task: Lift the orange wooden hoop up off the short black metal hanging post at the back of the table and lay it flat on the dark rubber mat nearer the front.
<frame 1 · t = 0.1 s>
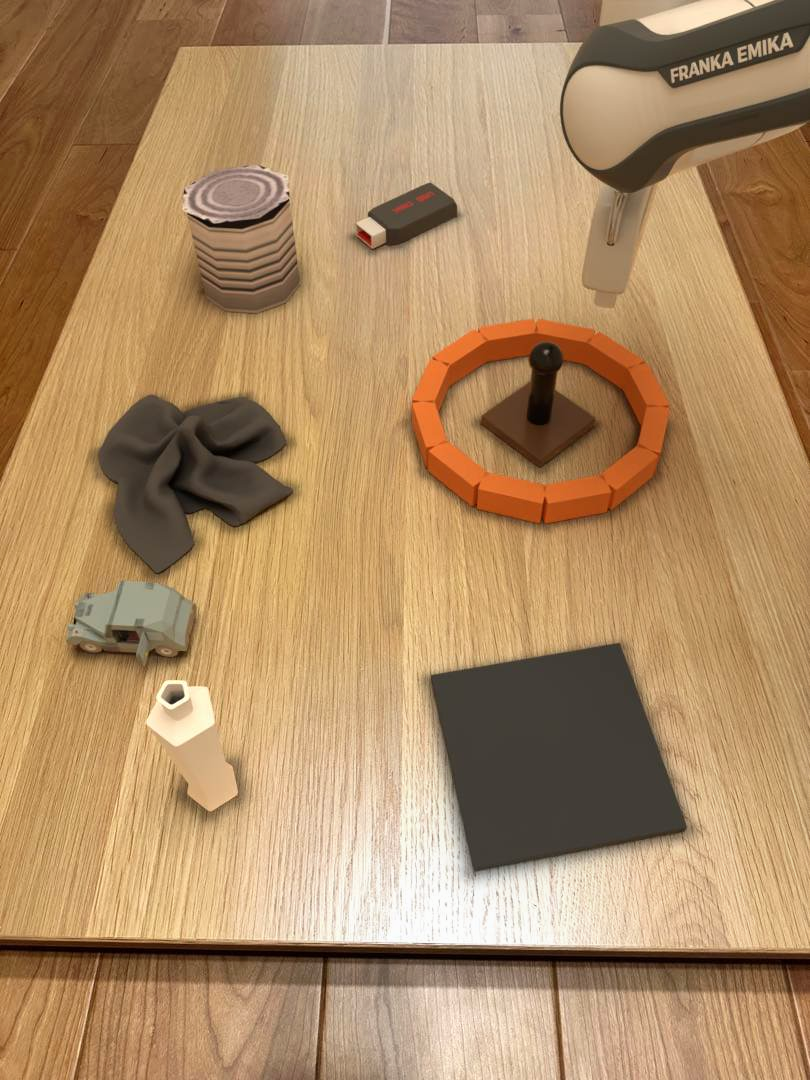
hand: (615, 269, 87), 16 cm above the table, tool pointing down, fingers open, 8 cm apart
hoop: (537, 425, 97), on the table
cloth: (194, 477, 94), on the table
mat: (551, 751, 76), on the table
cream vase: (216, 787, 75), on the table
usb drive: (404, 226, 118), on the table
toy car: (134, 646, 83), on the table
hanging post: (537, 425, 97), on the table
can: (252, 283, 112), on the table
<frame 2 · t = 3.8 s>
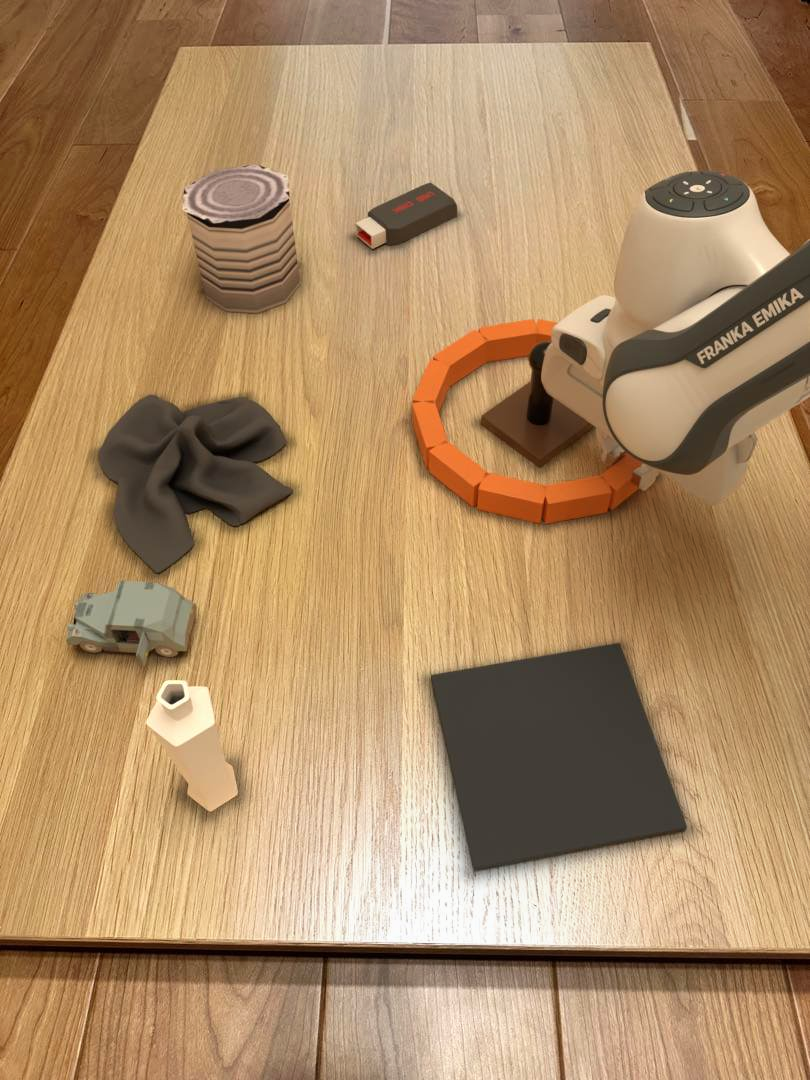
hand: (626, 472, 91), 2 cm above the table, tool pointing down, fingers closed on hoop, 2 cm apart
hoop: (537, 425, 97), on the table, touching gripper
everything else where it was.
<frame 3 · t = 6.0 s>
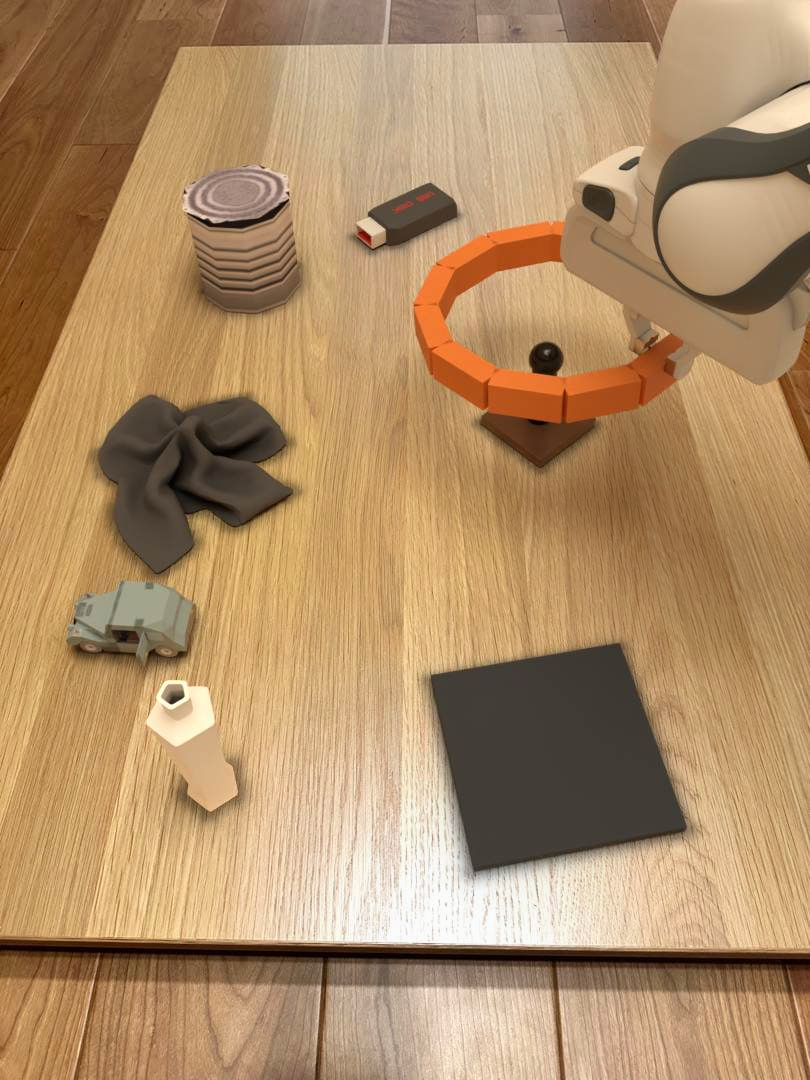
hand: (658, 361, 79), 16 cm above the table, tool pointing down, fingers closed on hoop, 2 cm apart
hoop: (556, 328, 86), point 13 cm above the table, tilted 5°, touching gripper
everything else where it was.
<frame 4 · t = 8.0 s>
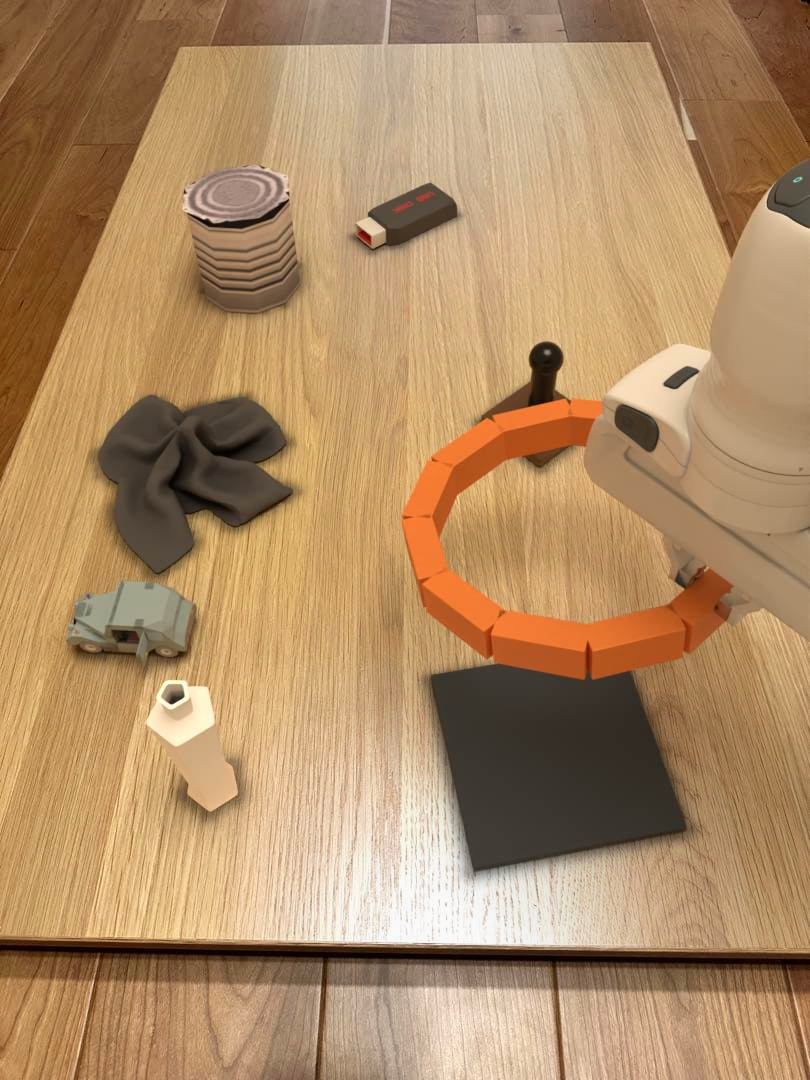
hand: (707, 596, 63), 19 cm above the table, tool pointing down, fingers closed on hoop, 2 cm apart
hoop: (577, 538, 71), point 15 cm above the table, tilted 10°, touching gripper
everything else where it was.
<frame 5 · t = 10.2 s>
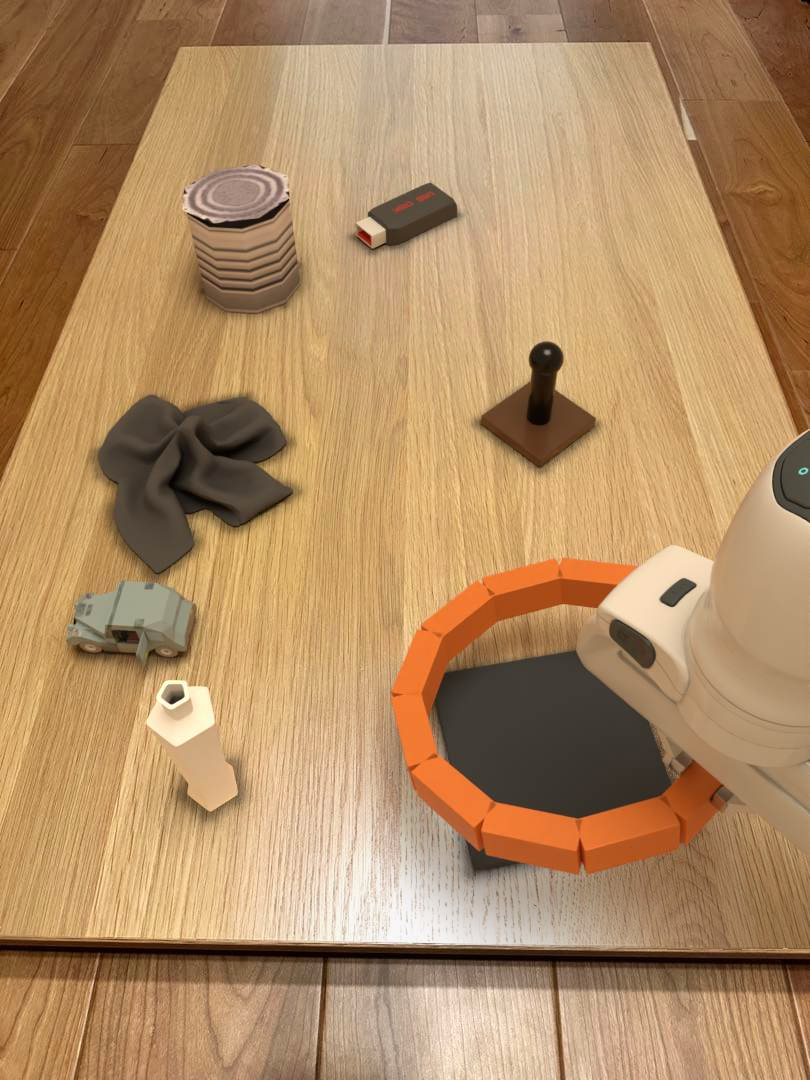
hand: (701, 782, 61), 13 cm above the table, tool pointing down, fingers closed on hoop, 2 cm apart
hoop: (570, 711, 69), point 8 cm above the table, tilted 13°, touching gripper
everything else where it was.
when the fingers open (4 cm above the table, at t = 12.2 s): hoop stays where it is, resting on mat.
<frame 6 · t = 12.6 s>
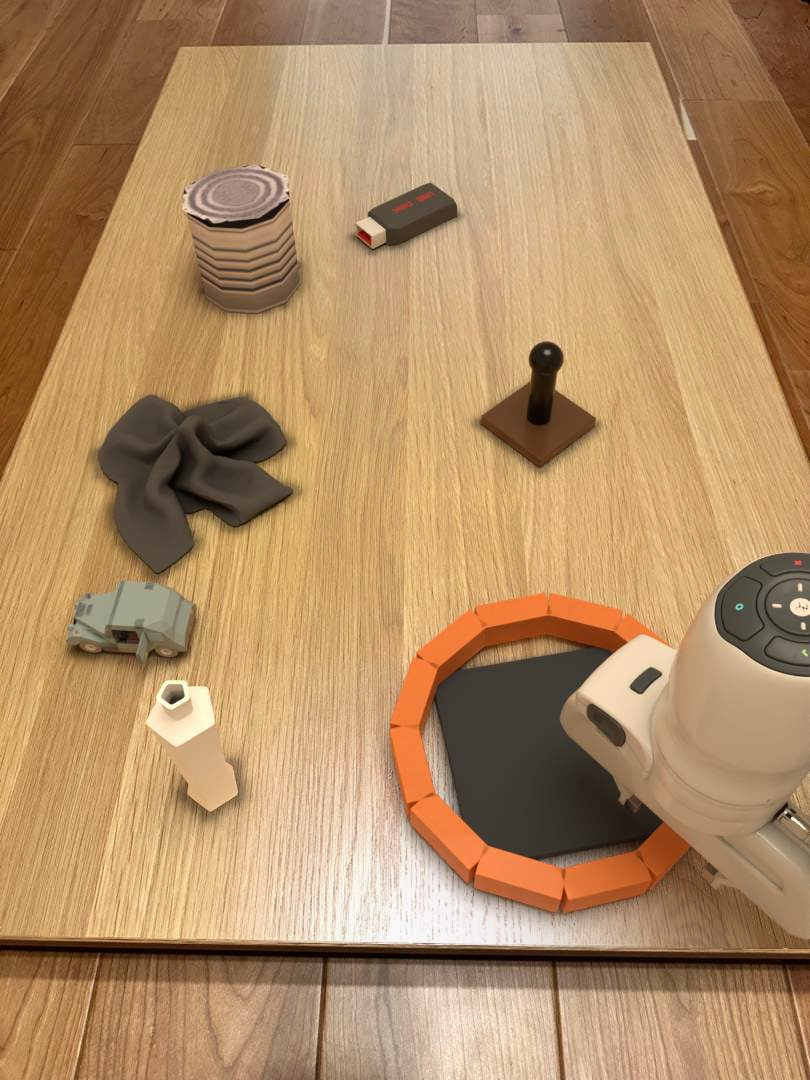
hand: (672, 837, 69), 3 cm above the table, tool pointing down, fingers open, 6 cm apart
hoop: (551, 747, 76), point 1 cm above the table, touching mat
everything else where it was.
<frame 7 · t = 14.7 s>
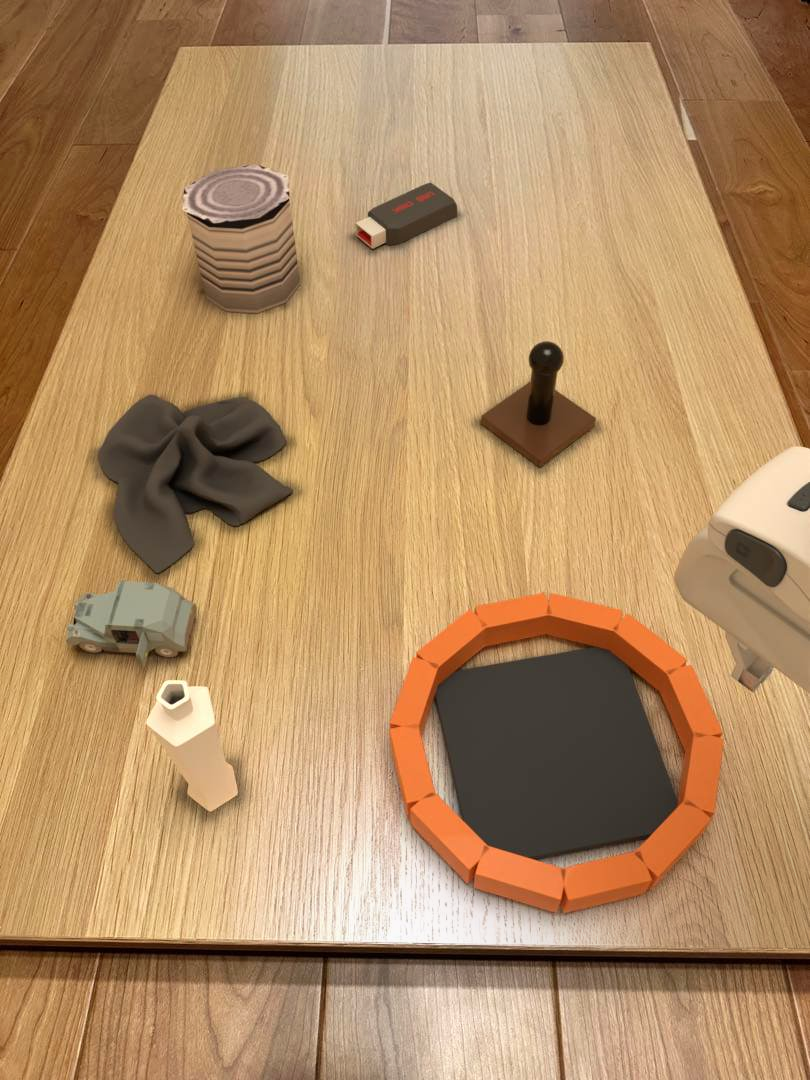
nothing on the table moved.
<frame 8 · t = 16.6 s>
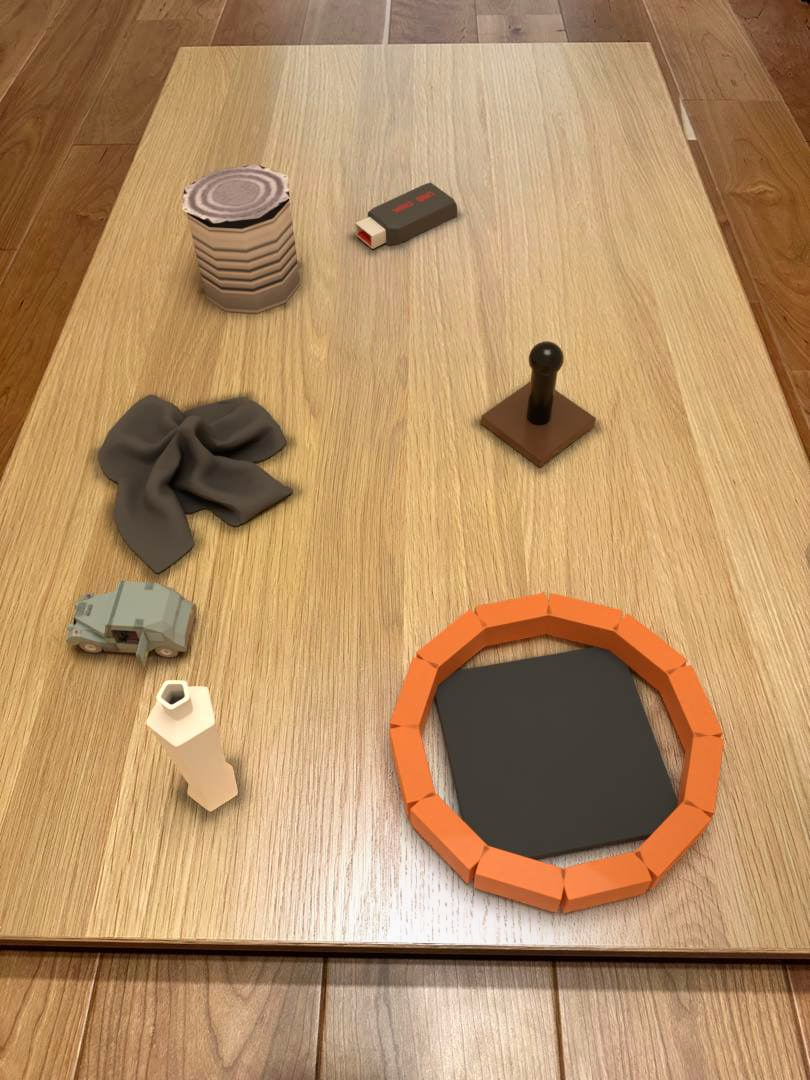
nothing on the table moved.
at the end: hoop inside the target area on the mat (0.1 cm from its centre), point 0.8 cm above the mat's base; hoop touching mat; hoop tilted 0° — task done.
